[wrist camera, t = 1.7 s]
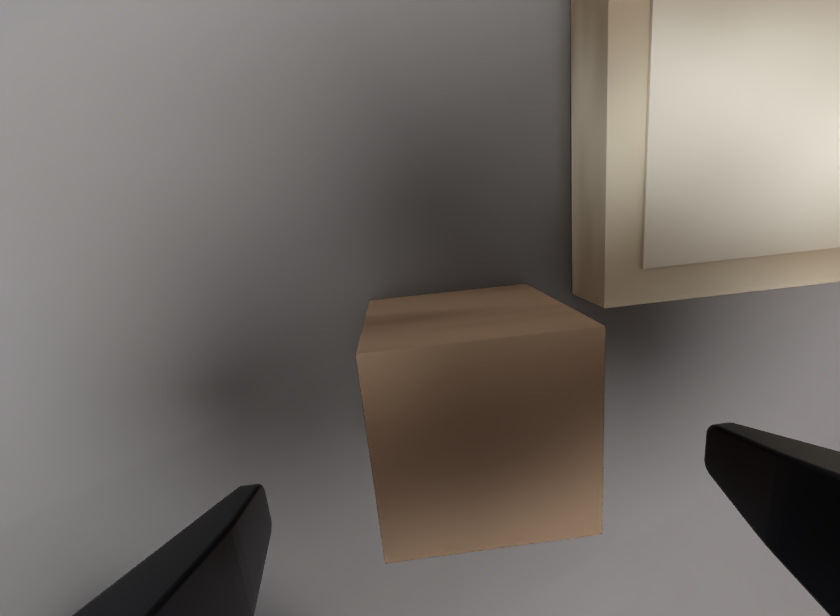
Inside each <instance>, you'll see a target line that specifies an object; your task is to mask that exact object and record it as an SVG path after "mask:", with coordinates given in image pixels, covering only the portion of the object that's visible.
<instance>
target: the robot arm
mask: <svg viewBox="0 0 840 616" xmlns="http://www.w3.org/2000/svg"><path fill="white" fill-rule="evenodd" d="M704 461H705V466H706V469H707V471H708V473H709V474H710V475H711V477H712V478H713V479H714V480H715V482H716V483H717V484H718V486H719V487H720V488H721V489H722V491H723V492H724V493H725V494H726V496H727V497H728V498H729V500H730V501H731V502H732V503H733V505H734V506H735V507H736V508H737V510H738V511H739V512H740V514H741V515H742V516H743V517H744V519H745V520H746V521H747V523H748V524H749V525H750V526H751V528H752V529H753V530H754V531H755V533H756V534H757V535H758V536H759V538H760V539H761V540H762V541H763V542H764V544H765V545H766V546H767V547H768V548H769V549H770V550H771V552H772V553H773V554H774V555H775V556H776V557H777V558H778V559H779V561H780V562H781V563H782V564H783V565H784V566H785V567H786V568H787V569H788V570H789V571H790V572H791V574H792V575H793V576H794V577H795V578H796V579H797V580H798V581H799V582H800V583H801V584H802V586H803V587H804V588H805V589H806V590H807V591H808V592H809V593H810V594H811V595H812V596H813V598H814V599H815V600H816V601H817V602H818V603H819V604H820V605H821V606H822V607H823V608H824V609H825V611H826V612H827V613H828V614H829V615H830V616H840V452H838V451H835V450H831V449H827V448H824V447H820V446H816V445H813V444H809V443H805V442H802V441H798V440H794V439H791V438H787V437H783V436H779V435H776V434H772V433H768V432H765V431H761V430H757V429H754V428H750V427H746V426H743V425H739V424H735V423H722V424H714V425H711V426H710V427H709V428H708V430H707V434H706V446H705V458H704ZM270 535H271V516H270V512H269V507H268V503H267V498H266V493H265V490H264V488H263V486H262V485H261V484H253V485H245V486H240V487H238V488H237V489H236V490H234V491H233V492H232V493H230V494H229V495H228V496H226V497H225V498H224V499H223V500H221V501H220V502H219V503H217V504H216V505H215V506H214V507H212V508H211V509H210V510H208V511H207V512H206V513H204V514H203V515H202V516H201V517H199V518H198V519H197V520H195V521H194V522H193V523H192V524H190V525H189V526H188V527H186V528H185V529H184V530H182V531H181V532H180V533H179V534H177V535H176V536H175V537H173V538H172V539H171V540H169V541H168V542H167V543H166V544H164V545H163V546H162V547H160V548H159V549H158V550H157V551H155V552H154V553H153V554H151V555H150V556H149V557H147V558H146V559H145V560H144V561H142V562H141V563H140V564H138V565H137V566H136V567H134V568H133V569H132V570H131V571H129V572H128V573H127V574H125V575H124V576H123V577H122V578H120V579H119V580H118V581H116V582H115V583H114V584H112V585H111V586H110V587H109V588H107V589H106V590H105V591H103V592H102V593H101V594H100V595H98V596H97V597H96V598H94V599H93V600H92V601H90V602H89V603H88V604H87V605H85V606H84V607H83V608H81V609H80V610H79V611H77V612H76V613H75V614H74V615H72V616H254V612H255V607H256V603H257V598H258V593H259V588H260V583H261V579H262V574H263V569H264V564H265V559H266V554H267V549H268V545H269V540H270Z"/></svg>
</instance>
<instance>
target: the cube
mask: <svg viewBox="0 0 840 616" xmlns="http://www.w3.org/2000/svg"><path fill="white" fill-rule="evenodd" d="M356 361H357V368H358V375H359V382H360V389H361V396H362V403H363V411H364V418H365V425H366V432H367V439H368V446H369V453H370V460H371V467H372V474H373V481H374V488H375V496H376V503H377V510H378V517H379V524H380V531H381V538H382V545H383V552H384V559H385V563H392V562H400V561H407V560H414V559H422V558H429V557H437V556H444V555H451V554H459V553H466V552H474V551H481V550H488V549H496V548H503V547H511V546H518V545H525V544H533V543H540V542H547V541H555V540H562V539H570V538H577V537H584V536H592V535H599V534H602V504H603V442H604V380H605V326H604V325H602V324H600V323H599V322H597V321H595V320H593V319H591V318H589V317H587V316H586V315H584V314H582V313H580V312H578V311H576V310H574V309H572V308H571V307H569V306H567V305H565V304H563V303H561V302H559V301H558V300H556V299H554V298H552V297H550V296H548V295H546V294H545V293H543V292H541V291H539V290H537V289H535V288H533V287H531V286H530V285H528V284H517V285H508V286H498V287H489V288H480V289H470V290H461V291H452V292H442V293H433V294H424V295H415V296H405V297H396V298H387V299H377V300H369V304H368V308H367V312H366V316H365V319H364V323H363V327H362V331H361V335H360V339H359V343H358V347H357V351H356Z"/></svg>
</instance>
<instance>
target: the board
mask: <svg viewBox="0 0 840 616" xmlns="http://www.w3.org/2000/svg"><path fill="white" fill-rule="evenodd" d="M571 148H572V294H574V295H576V296H578V297H580V298H583V299H585V300H587V301H589V302H591V303H594V304H596V305H598V306H600V307H602V308H612V307H621V306H630V305H638V304H647V303H656V302H665V301H673V300H682V299H691V298H700V297H708V296H717V295H726V294H735V293H744V292H752V291H761V290H770V289H779V288H787V287H796V286H805V285H814V284H822V283H831V282H840V0H571Z"/></svg>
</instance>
